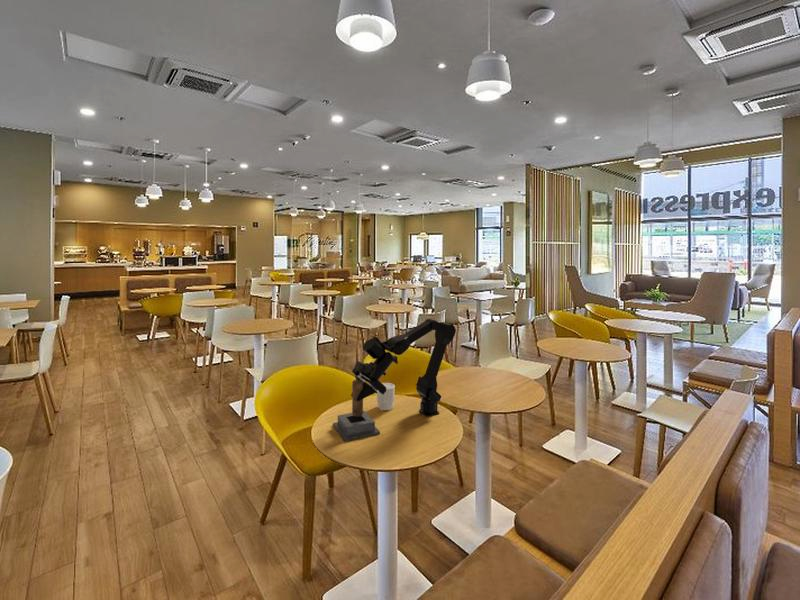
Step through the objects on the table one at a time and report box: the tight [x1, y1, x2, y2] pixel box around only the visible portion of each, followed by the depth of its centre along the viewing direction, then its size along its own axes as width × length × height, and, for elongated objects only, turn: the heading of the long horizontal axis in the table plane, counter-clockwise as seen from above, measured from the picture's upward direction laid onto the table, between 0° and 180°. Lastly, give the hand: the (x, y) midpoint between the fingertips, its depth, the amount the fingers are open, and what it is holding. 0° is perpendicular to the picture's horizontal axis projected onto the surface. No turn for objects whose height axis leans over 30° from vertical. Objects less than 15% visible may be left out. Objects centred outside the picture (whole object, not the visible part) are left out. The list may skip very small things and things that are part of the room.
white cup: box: [376, 382, 396, 411], centre depth 179 cm, size 8×8×10 cm
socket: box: [332, 410, 381, 442], centre depth 158 cm, size 14×14×4 cm
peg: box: [351, 379, 364, 417], centre depth 155 cm, size 4×4×13 cm
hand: (354, 398), depth 154 cm, fingers closed on peg, 4 cm apart
